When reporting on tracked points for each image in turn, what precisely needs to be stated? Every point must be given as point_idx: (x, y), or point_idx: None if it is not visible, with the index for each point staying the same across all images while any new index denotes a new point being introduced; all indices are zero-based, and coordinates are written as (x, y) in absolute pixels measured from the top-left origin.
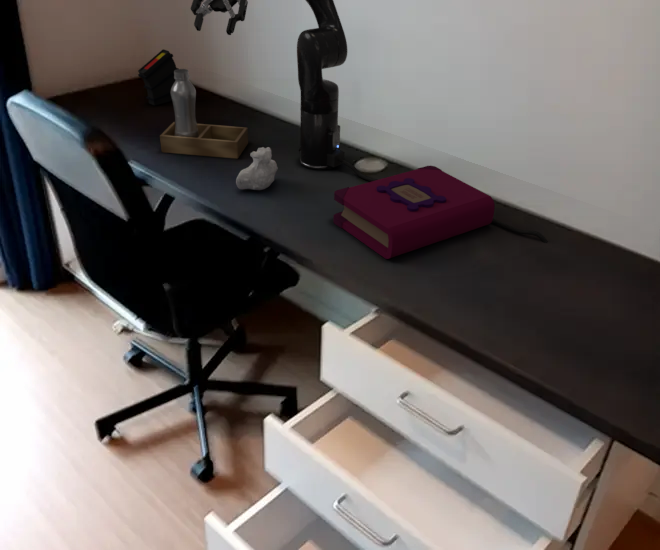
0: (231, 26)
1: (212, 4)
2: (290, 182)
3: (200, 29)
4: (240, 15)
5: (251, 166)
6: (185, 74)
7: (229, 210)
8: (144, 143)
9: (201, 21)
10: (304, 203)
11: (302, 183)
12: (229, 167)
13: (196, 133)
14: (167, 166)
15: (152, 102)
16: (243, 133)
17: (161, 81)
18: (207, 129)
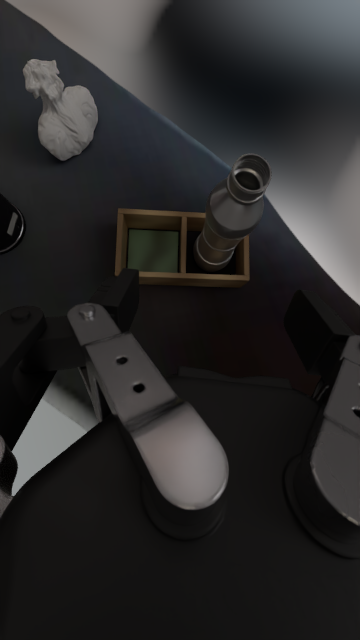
0: (109, 288)
1: (298, 399)
2: (32, 158)
3: (286, 326)
4: (20, 311)
5: (68, 97)
6: (234, 163)
7: (98, 75)
8: (276, 257)
9: (304, 339)
10: (6, 102)
11: (15, 157)
12: (128, 193)
13: (196, 241)
14: (214, 184)
15: None
16: (116, 248)
17: None
18: (181, 254)
